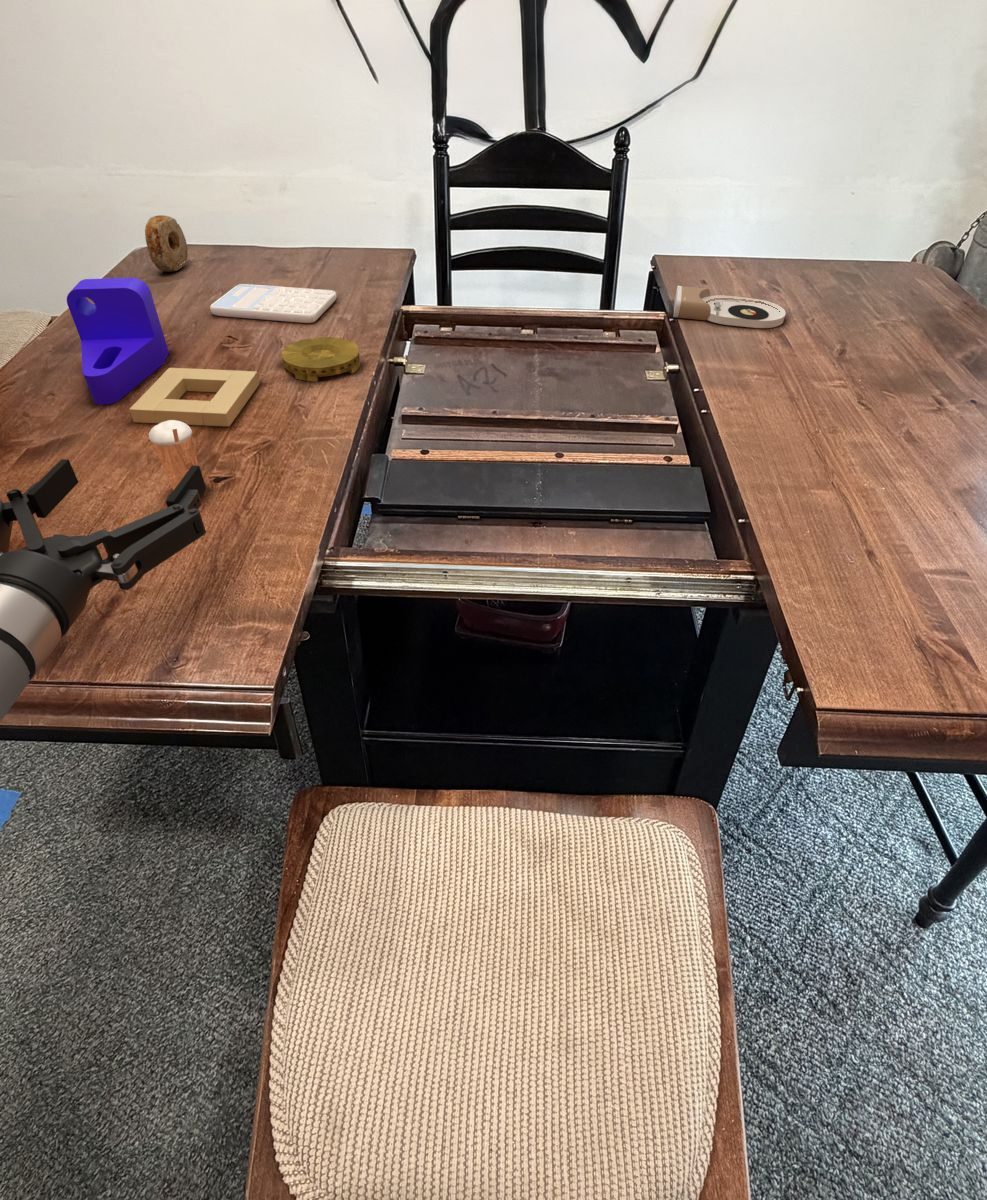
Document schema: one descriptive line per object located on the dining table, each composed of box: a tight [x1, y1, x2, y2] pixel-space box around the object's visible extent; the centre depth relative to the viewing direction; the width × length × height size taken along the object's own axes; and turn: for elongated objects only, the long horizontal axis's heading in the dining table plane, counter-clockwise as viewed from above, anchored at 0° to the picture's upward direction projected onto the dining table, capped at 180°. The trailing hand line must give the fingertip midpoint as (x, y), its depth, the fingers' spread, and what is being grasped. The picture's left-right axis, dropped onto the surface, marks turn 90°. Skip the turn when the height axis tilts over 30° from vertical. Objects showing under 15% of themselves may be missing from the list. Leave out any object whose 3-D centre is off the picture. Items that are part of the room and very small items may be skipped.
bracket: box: [66, 277, 170, 406], centre depth 105 cm, size 18×11×12 cm, turn 7°
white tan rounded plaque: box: [673, 285, 787, 329], centre depth 132 cm, size 12×3×20 cm
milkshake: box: [148, 420, 199, 491], centre depth 82 cm, size 4×5×10 cm
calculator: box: [209, 283, 338, 324], centre depth 132 cm, size 13×20×2 cm, turn 80°
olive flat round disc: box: [281, 336, 361, 382], centre depth 113 cm, size 12×12×2 cm
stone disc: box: [144, 214, 189, 273], centre depth 144 cm, size 10×4×10 cm, turn 169°
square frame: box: [128, 367, 261, 428], centre depth 103 cm, size 14×14×2 cm
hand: (134, 473), depth 73 cm, fingers open, 13 cm apart
